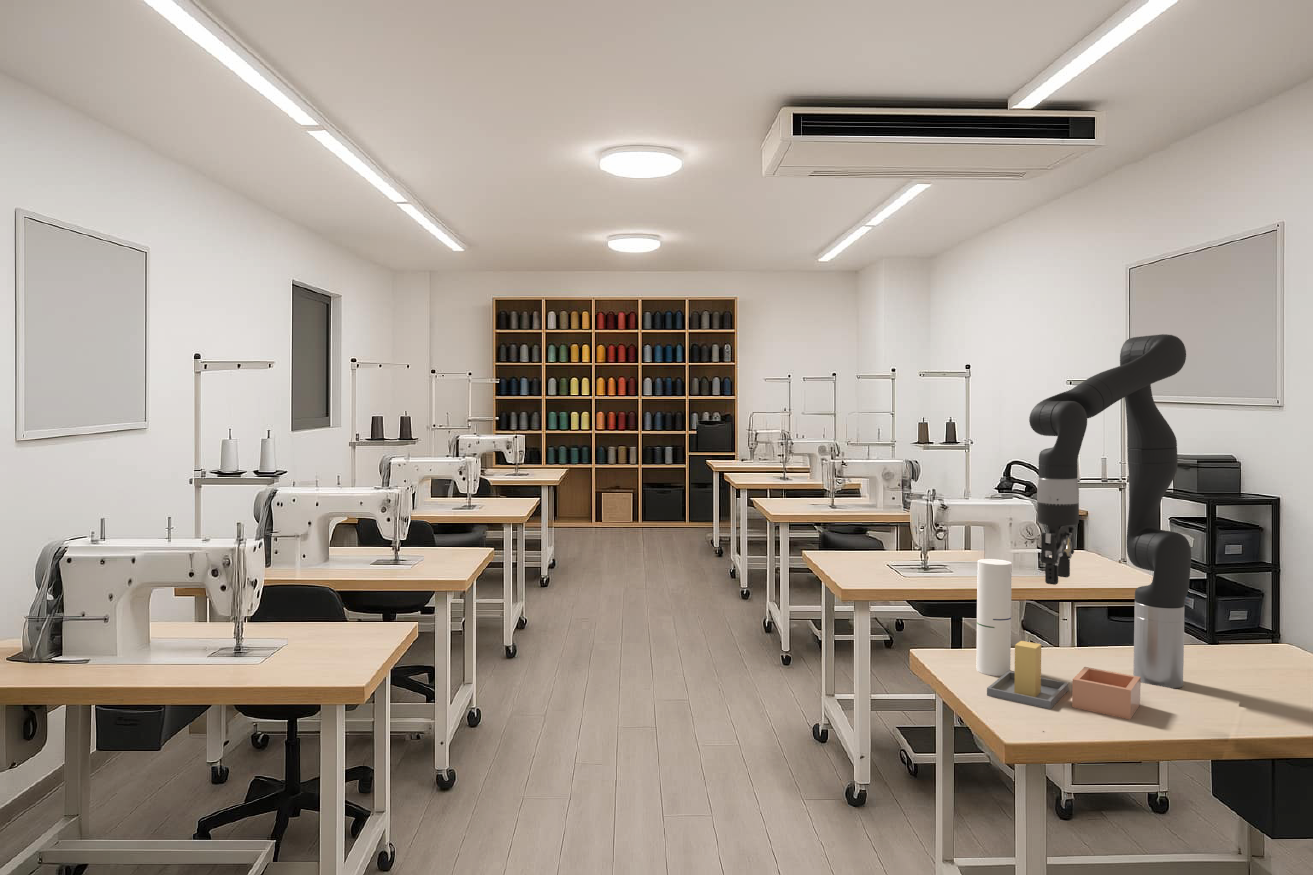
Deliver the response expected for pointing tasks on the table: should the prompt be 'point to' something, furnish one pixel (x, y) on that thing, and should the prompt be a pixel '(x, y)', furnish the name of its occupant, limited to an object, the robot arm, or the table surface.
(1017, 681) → the ochre block
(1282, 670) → the table surface
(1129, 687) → the terracotta storage bin
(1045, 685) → the grey tray
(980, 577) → the cylindrical container
